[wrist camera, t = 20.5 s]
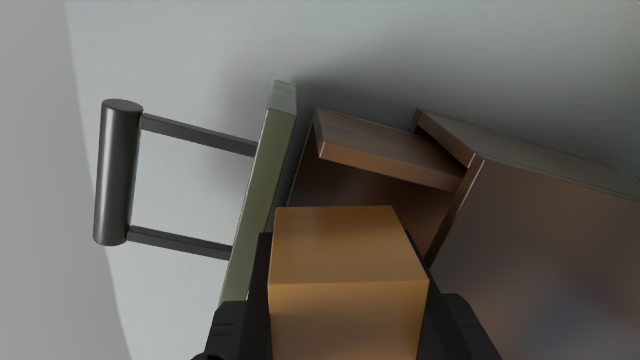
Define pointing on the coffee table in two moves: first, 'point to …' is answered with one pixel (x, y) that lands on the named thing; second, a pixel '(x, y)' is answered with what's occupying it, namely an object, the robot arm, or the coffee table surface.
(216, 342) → the robot arm
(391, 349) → the block
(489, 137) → the cabinet
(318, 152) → the drawer
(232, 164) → the coffee table surface
